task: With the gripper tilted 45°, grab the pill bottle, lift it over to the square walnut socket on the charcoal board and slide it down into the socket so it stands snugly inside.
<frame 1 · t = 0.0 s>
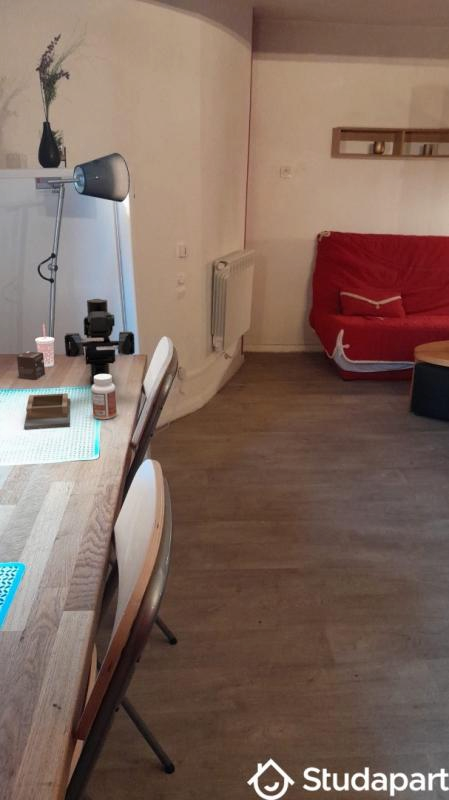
hand: (101, 352, 148), 17 cm above the table, tool horizontal, fingers open, 9 cm apart
pill bottle: (104, 416, 150), on the table
box: (32, 377, 179), on the table
socket: (48, 414, 150), on the table
beverage cup: (47, 365, 191), on the table
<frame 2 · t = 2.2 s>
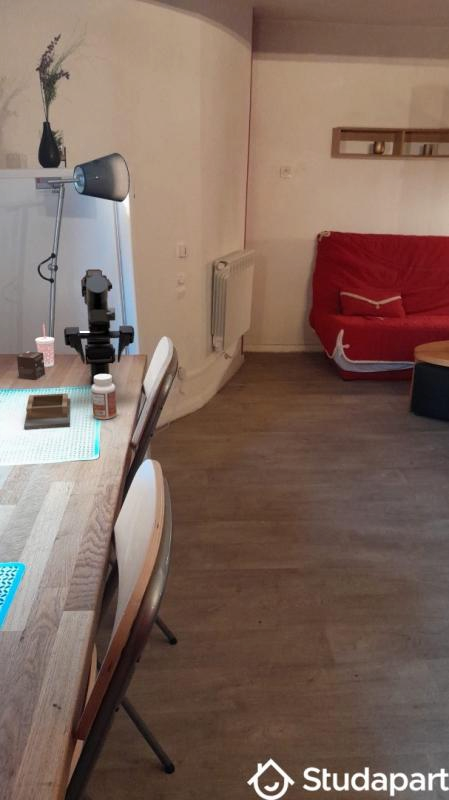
hand: (101, 362, 152), 13 cm above the table, tool tilted 45°, fingers open, 9 cm apart
nothing on the table moved.
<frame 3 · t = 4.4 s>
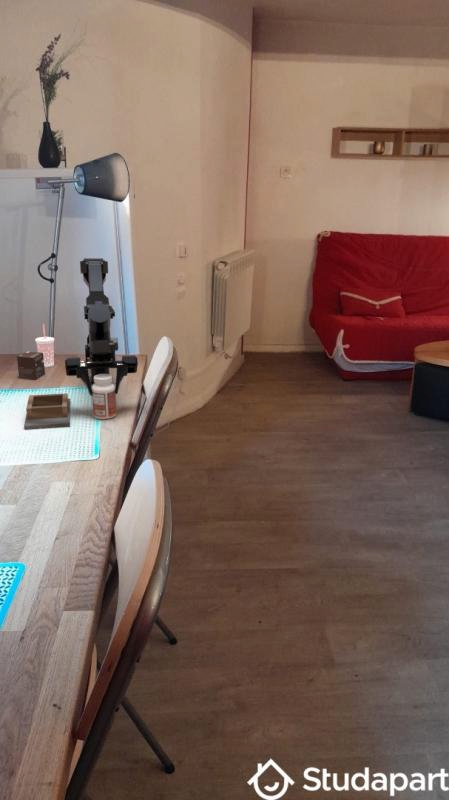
hand: (103, 394, 147), 7 cm above the table, tool tilted 45°, fingers closed on pill bottle, 6 cm apart
pill bottle: (104, 416, 150), on the table, touching gripper
everything else where it was.
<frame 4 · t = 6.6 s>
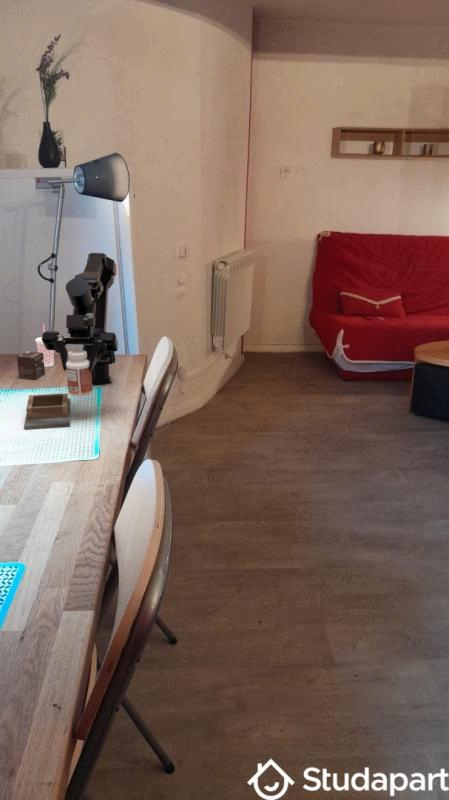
hand: (77, 370, 143), 13 cm above the table, tool tilted 45°, fingers closed on pill bottle, 6 cm apart
pill bottle: (80, 393, 147), point 6 cm above the table, touching gripper
everything else where it was.
when the fingers open (9 cm above the table, at t = 8.9 s): pill bottle drops 1 cm, resting on socket.
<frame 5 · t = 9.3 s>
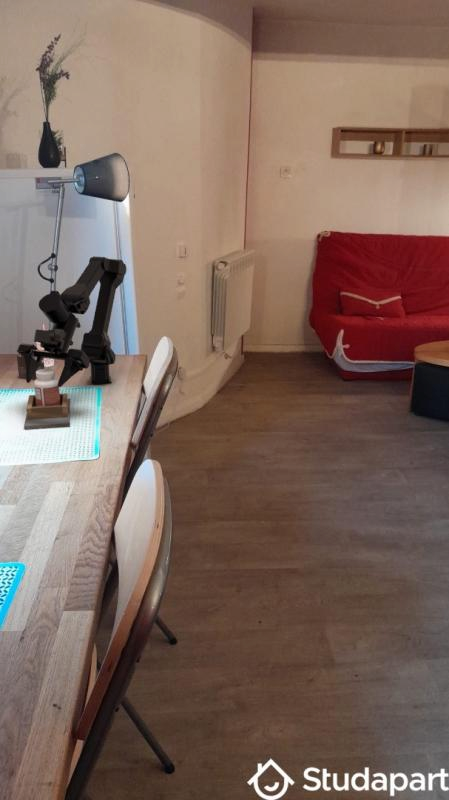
hand: (43, 384, 145), 9 cm above the table, tool tilted 45°, fingers open, 9 cm apart
pill bottle: (49, 411, 150), point 1 cm above the table, touching socket
everything else where it was.
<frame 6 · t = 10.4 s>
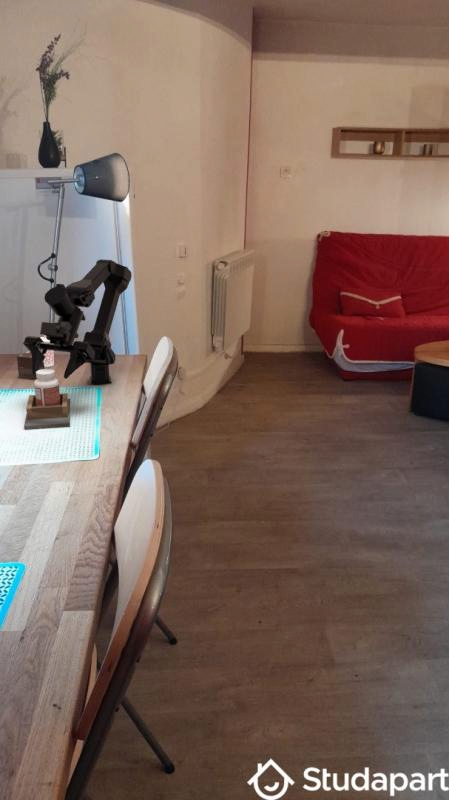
hand: (49, 376, 148), 10 cm above the table, tool tilted 45°, fingers open, 9 cm apart
nothing on the table moved.
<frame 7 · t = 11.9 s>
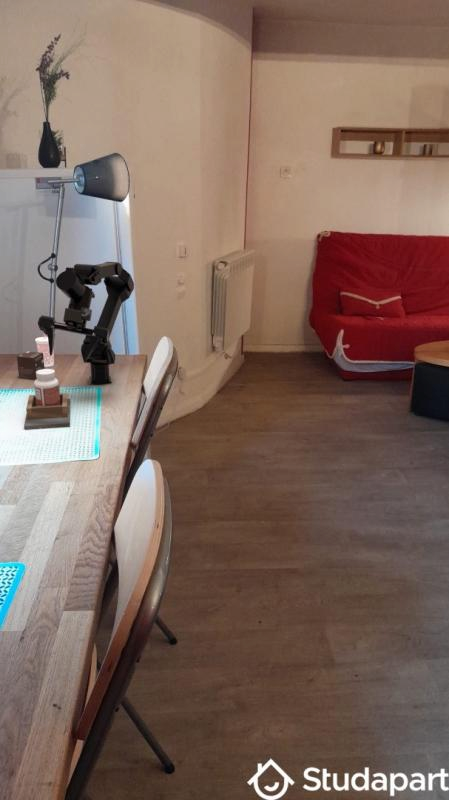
hand: (67, 358, 154), 13 cm above the table, tool tilted 35°, fingers open, 9 cm apart
nothing on the table moved.
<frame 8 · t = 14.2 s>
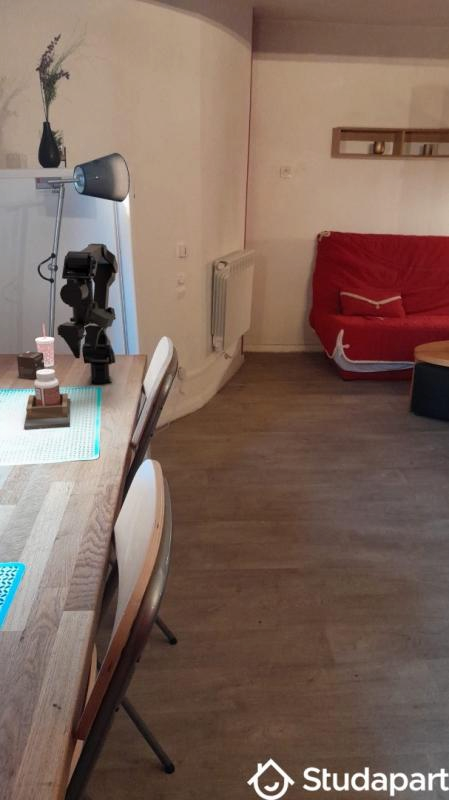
hand: (85, 353, 158), 13 cm above the table, tool pointing down, fingers open, 9 cm apart
nothing on the table moved.
at the end: pill bottle 0.2 cm off-centre on the socket, point 0.8 cm above the socket's base; pill bottle tilted 0°; the gripper is holding nothing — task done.
